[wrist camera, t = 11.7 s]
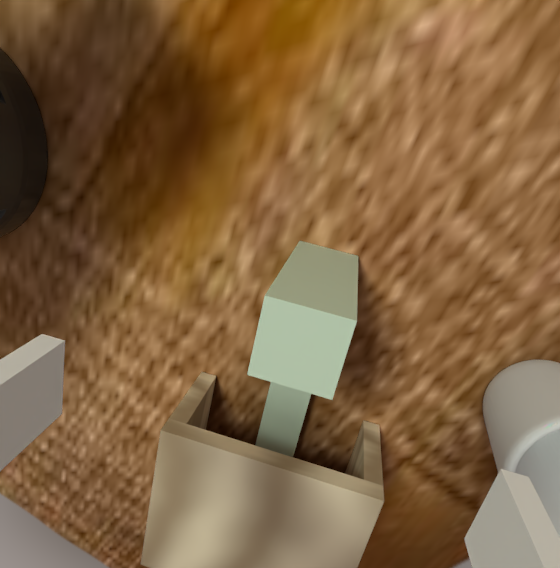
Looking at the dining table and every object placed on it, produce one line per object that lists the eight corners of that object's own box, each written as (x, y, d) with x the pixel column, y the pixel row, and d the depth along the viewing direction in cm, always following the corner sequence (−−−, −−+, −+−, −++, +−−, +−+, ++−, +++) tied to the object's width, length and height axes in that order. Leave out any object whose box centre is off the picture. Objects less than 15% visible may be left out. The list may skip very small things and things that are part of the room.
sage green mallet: (241, 479, 35) (193, 615, 25) (299, 240, 28) (264, 295, 18) (287, 493, 35) (257, 638, 25) (358, 255, 28) (357, 320, 18)
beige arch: (180, 487, 37) (140, 564, 30) (201, 371, 33) (160, 430, 26) (337, 539, 36) (331, 631, 29) (379, 424, 31) (384, 501, 25)
